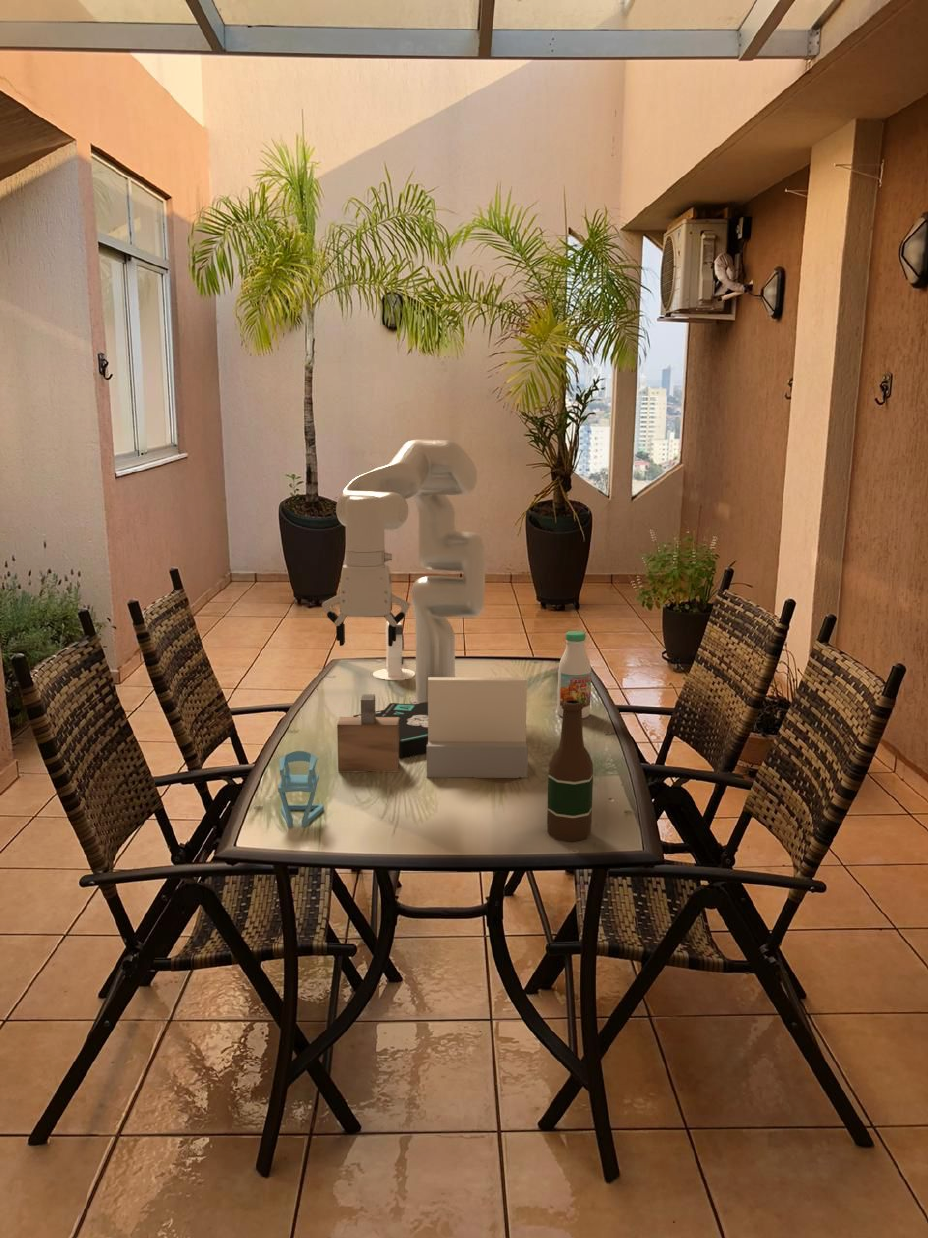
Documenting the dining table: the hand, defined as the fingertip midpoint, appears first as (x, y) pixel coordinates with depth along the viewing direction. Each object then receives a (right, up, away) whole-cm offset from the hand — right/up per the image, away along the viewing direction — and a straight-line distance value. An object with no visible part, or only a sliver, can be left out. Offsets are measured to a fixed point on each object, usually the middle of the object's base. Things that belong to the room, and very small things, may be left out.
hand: (366, 644), depth 211 cm
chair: (-10, -31, -19) cm, 38 cm away
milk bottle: (+45, -18, +41) cm, 64 cm away
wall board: (+22, -25, +5) cm, 34 cm away
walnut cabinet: (0, -25, +6) cm, 26 cm away
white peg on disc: (+1, -10, +74) cm, 75 cm away
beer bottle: (+38, -33, -26) cm, 56 cm away
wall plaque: (+9, -22, +26) cm, 35 cm away
